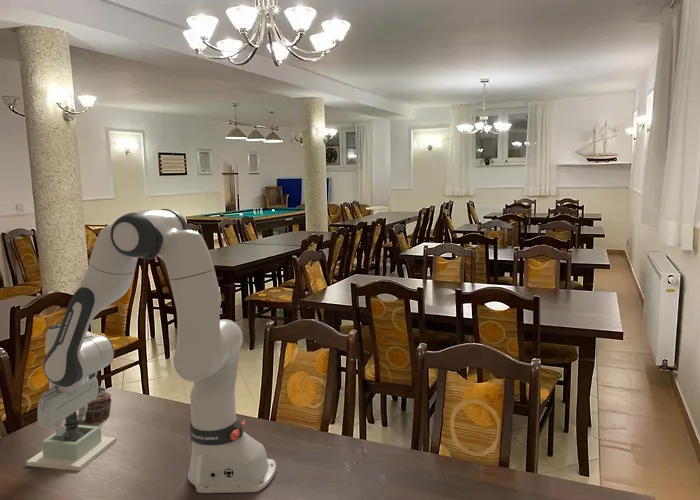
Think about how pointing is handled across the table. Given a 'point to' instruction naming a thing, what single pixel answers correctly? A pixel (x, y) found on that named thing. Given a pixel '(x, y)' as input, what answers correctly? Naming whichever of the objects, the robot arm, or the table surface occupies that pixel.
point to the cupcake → (98, 407)
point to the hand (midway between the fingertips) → (71, 427)
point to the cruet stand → (72, 450)
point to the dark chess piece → (72, 429)
